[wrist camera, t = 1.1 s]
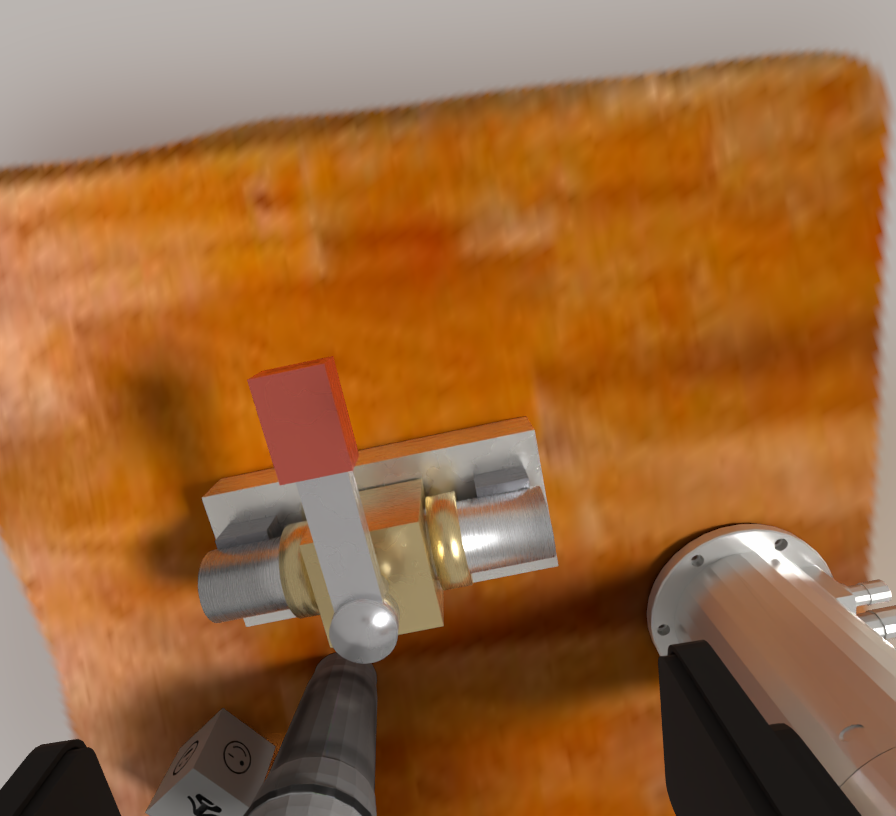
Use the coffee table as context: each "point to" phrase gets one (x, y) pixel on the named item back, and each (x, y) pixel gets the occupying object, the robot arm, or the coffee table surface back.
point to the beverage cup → (327, 747)
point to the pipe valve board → (387, 468)
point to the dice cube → (215, 771)
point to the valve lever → (328, 499)
